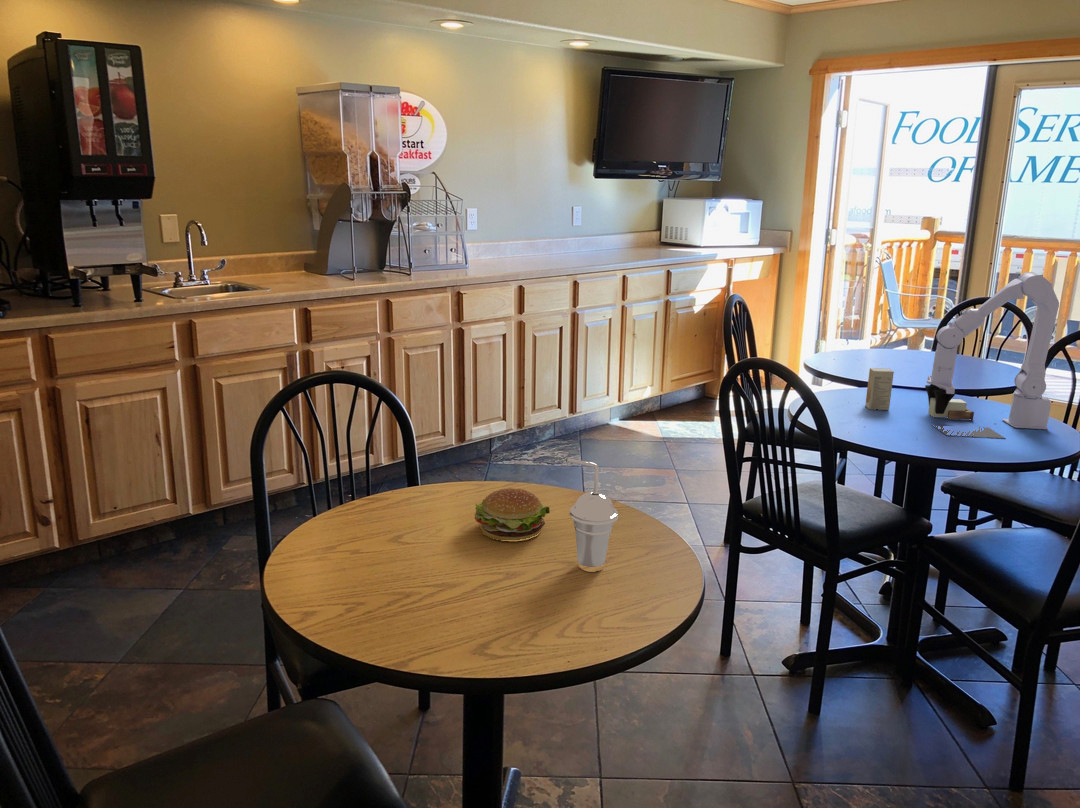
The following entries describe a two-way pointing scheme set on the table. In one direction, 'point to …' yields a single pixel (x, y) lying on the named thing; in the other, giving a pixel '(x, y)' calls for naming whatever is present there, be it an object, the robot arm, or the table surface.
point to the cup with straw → (592, 522)
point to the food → (511, 514)
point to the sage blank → (952, 405)
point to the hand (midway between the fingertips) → (936, 411)
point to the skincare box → (879, 388)
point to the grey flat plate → (976, 433)
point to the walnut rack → (961, 414)
